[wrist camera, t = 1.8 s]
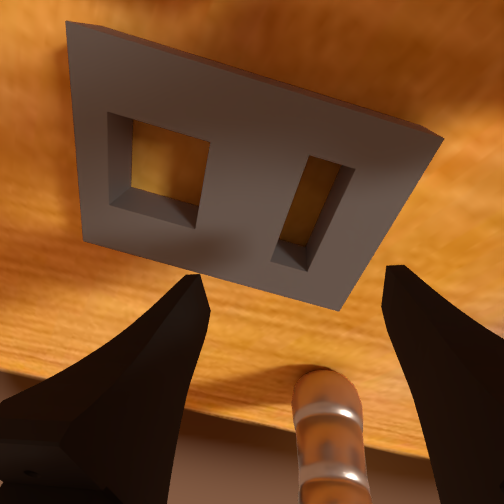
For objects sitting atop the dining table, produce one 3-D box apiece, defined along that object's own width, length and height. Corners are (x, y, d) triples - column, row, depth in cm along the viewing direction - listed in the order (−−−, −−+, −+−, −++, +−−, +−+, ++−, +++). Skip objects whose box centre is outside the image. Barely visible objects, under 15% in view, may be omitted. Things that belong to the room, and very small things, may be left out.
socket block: (421, 125, 17) (444, 138, 14) (334, 283, 23) (339, 311, 21) (101, 25, 16) (65, 20, 13) (106, 220, 22) (83, 241, 20)
